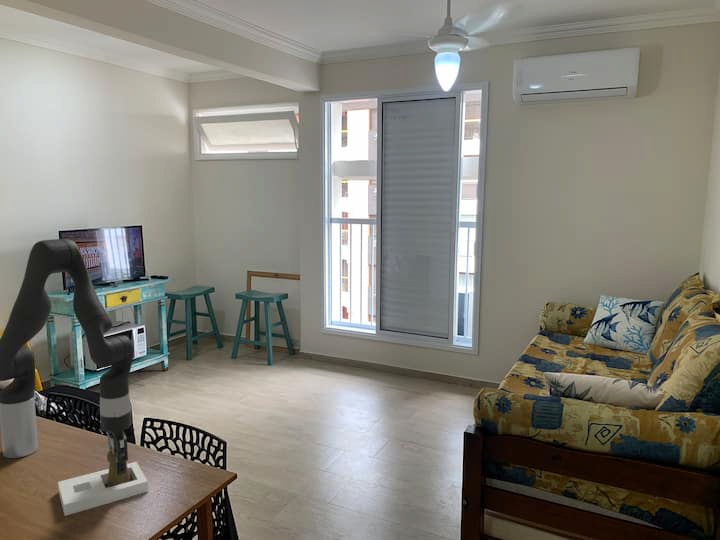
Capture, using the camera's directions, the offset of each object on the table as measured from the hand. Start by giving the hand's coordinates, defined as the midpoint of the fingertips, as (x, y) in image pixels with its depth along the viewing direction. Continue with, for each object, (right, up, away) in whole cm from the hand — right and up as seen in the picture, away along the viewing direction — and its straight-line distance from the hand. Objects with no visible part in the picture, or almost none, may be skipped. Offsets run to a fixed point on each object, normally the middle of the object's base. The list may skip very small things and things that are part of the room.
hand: (118, 467), depth 145 cm
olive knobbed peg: (0, -6, +1) cm, 6 cm away
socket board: (-3, -6, -1) cm, 7 cm away
